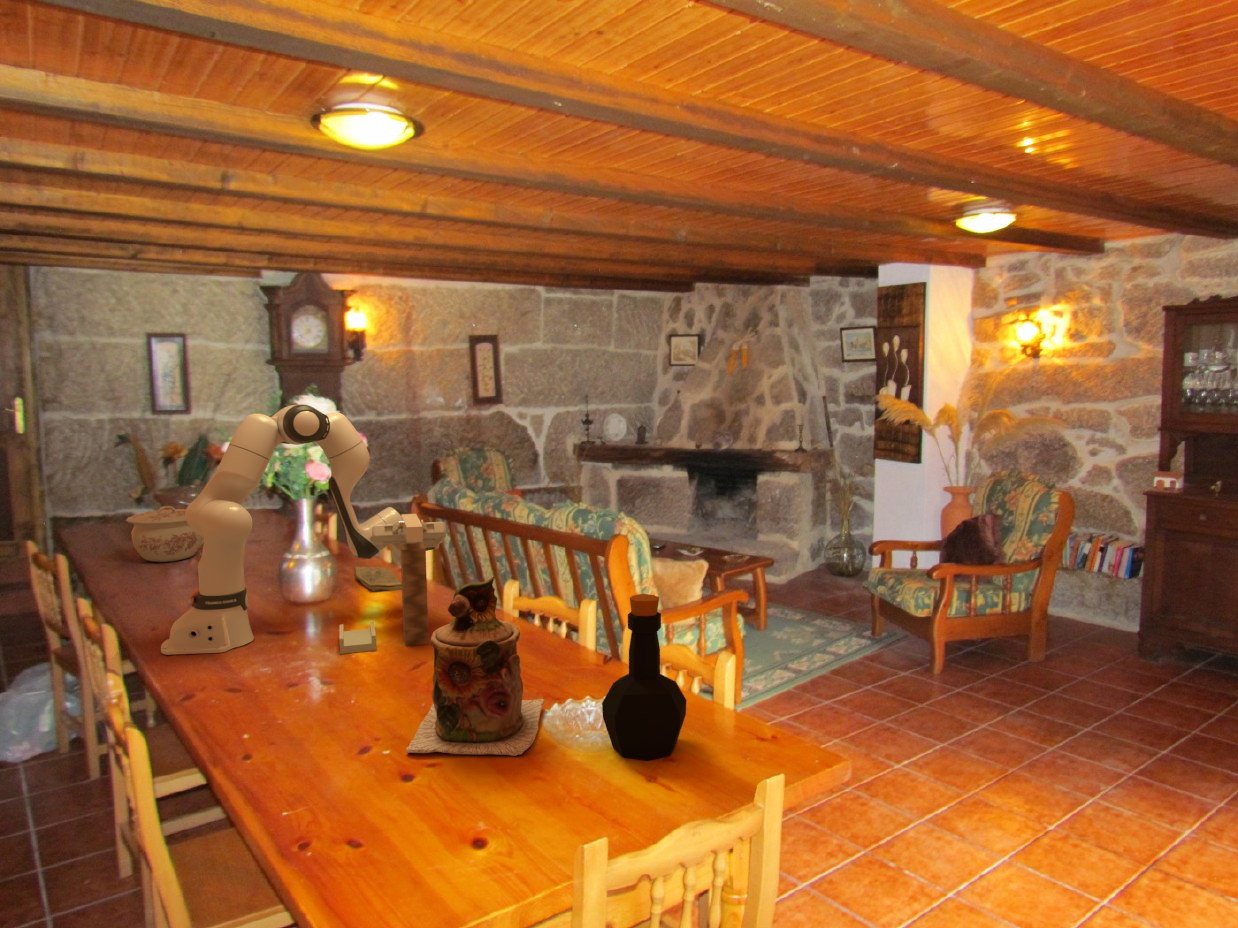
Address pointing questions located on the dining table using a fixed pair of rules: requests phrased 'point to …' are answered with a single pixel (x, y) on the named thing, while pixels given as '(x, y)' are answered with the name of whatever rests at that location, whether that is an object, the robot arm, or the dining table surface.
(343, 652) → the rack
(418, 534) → the beige rectangular bar
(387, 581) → the stone slab
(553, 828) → the dining table surface
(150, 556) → the chamber pot
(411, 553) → the plinth
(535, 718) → the cookie jar
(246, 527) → the robot arm
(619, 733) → the bottle
